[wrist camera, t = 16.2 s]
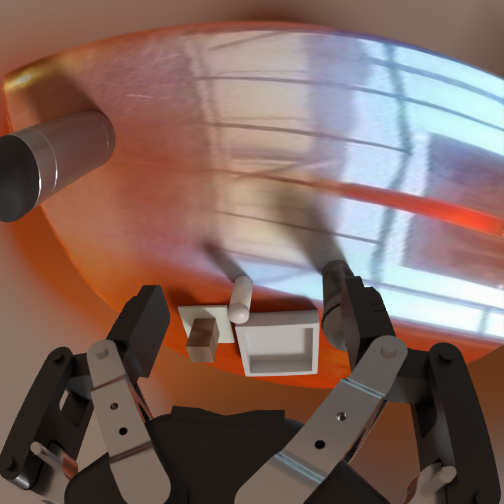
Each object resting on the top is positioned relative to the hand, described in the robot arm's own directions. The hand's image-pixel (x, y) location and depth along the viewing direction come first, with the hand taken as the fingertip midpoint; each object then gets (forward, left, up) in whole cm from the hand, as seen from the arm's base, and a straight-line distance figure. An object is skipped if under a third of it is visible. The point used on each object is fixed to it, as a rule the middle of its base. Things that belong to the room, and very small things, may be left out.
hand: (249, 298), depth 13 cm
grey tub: (-1, -34, -30) cm, 46 cm away
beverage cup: (+9, -20, -30) cm, 37 cm away
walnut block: (-14, -30, -30) cm, 44 cm away
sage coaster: (-14, -30, -30) cm, 45 cm away
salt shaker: (-6, -21, -30) cm, 37 cm away
